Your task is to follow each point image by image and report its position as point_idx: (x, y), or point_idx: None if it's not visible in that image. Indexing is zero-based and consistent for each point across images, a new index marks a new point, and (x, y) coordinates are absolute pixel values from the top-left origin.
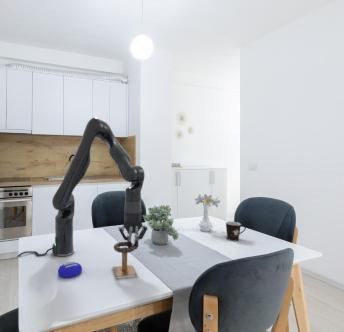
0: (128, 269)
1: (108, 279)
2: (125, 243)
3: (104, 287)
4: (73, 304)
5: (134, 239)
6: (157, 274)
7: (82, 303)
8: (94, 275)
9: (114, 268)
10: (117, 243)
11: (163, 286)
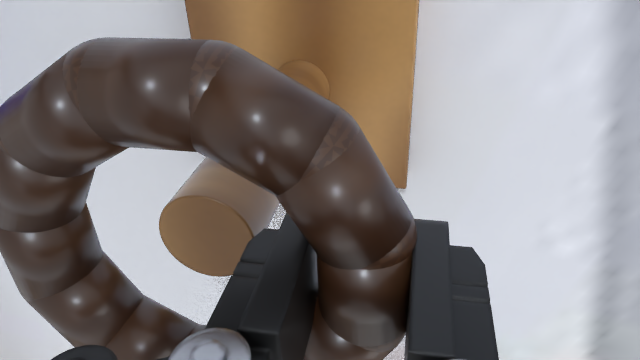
0: (347, 79)
1: (158, 150)
2: (210, 157)
3: (140, 237)
4: (11, 318)
5: (410, 356)
6: (636, 182)
7: (50, 324)
8: (31, 57)
9: (196, 19)
10: (19, 169)
11: (560, 338)
